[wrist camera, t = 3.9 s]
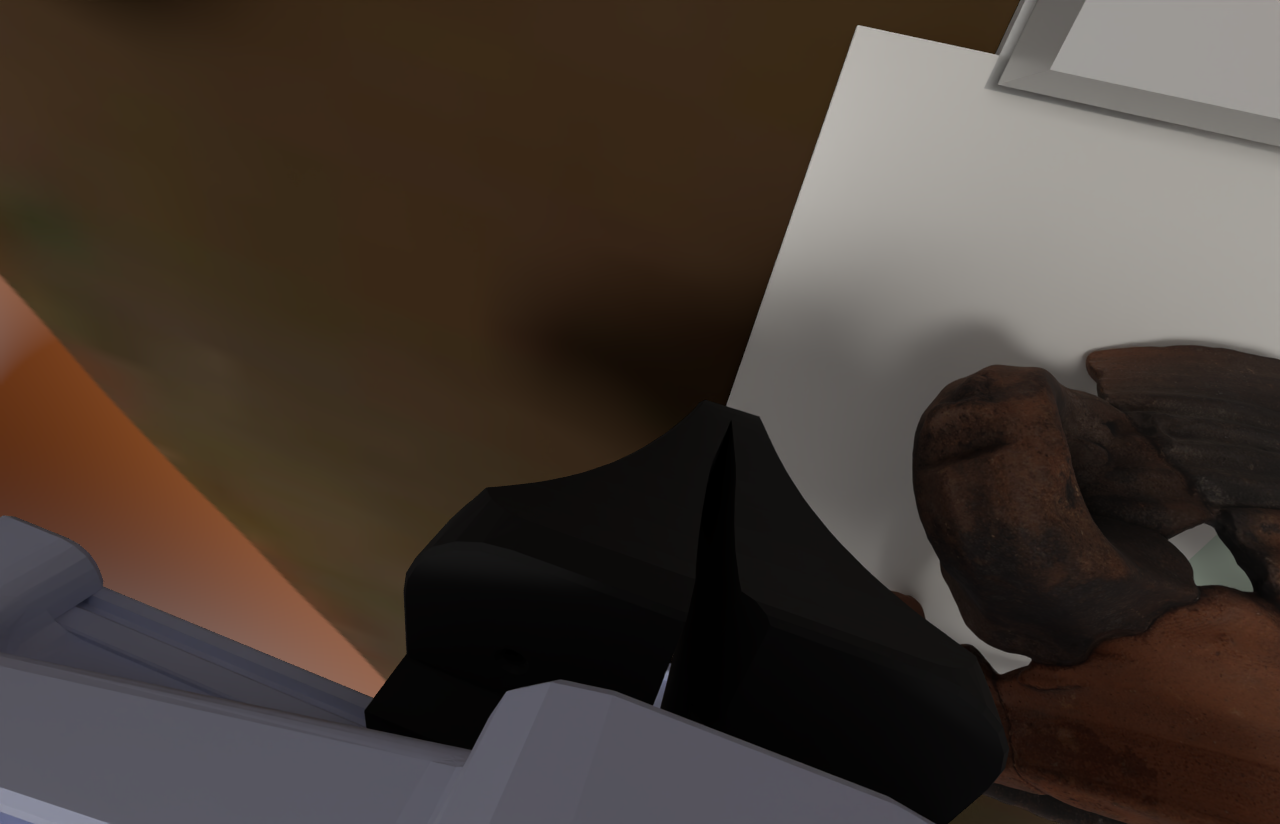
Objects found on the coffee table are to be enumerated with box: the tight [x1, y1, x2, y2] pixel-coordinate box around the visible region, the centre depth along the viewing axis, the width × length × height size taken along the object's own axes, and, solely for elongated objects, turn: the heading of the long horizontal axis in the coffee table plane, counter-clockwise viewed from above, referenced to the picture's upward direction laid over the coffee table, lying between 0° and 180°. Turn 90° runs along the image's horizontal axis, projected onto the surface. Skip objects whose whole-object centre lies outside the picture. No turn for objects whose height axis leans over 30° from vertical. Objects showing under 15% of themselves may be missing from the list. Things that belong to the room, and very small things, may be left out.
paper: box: [726, 25, 1280, 674], centre depth 12 cm, size 16×26×1 cm, turn 78°
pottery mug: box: [892, 345, 1280, 824], centre depth 10 cm, size 12×10×8 cm
